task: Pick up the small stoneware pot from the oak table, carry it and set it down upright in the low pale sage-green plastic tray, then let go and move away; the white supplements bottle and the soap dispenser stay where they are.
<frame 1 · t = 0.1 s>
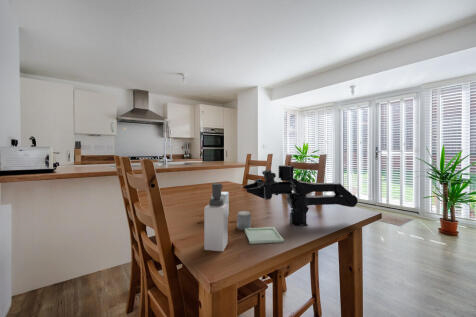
hand: (244, 188, 95), 17 cm above the table, tool horizontal, fingers open, 9 cm apart
tray: (262, 236, 84), on the table
supplement box: (220, 218, 107), on the table
pot: (244, 227, 93), on the table
soap dispenser: (217, 245, 76), on the table
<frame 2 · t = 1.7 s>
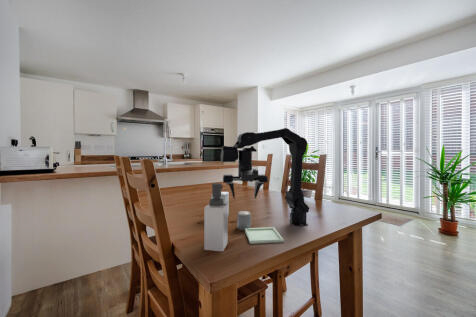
hand: (244, 198, 91), 13 cm above the table, tool pointing down, fingers open, 9 cm apart
nothing on the table moved.
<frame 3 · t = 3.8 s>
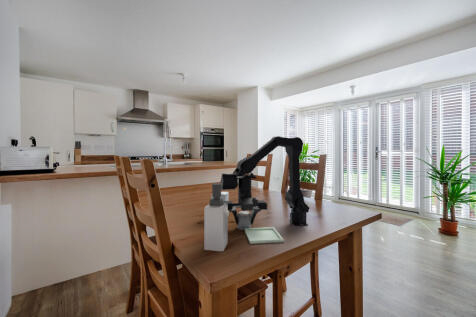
hand: (244, 225, 92), 2 cm above the table, tool pointing down, fingers closed on pot, 6 cm apart
pot: (244, 227, 93), on the table, touching gripper
everything else where it was.
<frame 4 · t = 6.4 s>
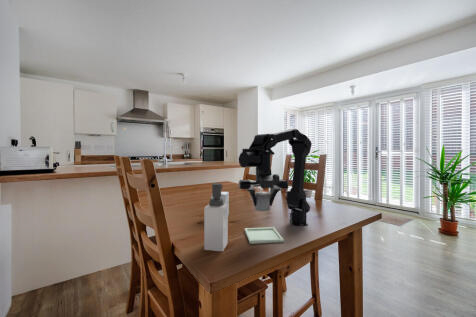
hand: (262, 206, 83), 12 cm above the table, tool pointing down, fingers closed on pot, 6 cm apart
pot: (262, 209, 84), point 10 cm above the table, touching gripper
everything else where it was.
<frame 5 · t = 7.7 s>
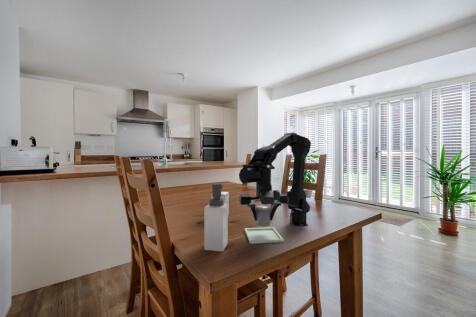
hand: (263, 220, 83), 6 cm above the table, tool pointing down, fingers closed on pot, 6 cm apart
pot: (262, 223, 84), point 5 cm above the table, touching gripper
everything else where it was.
when the fingers open (3 cm above the table, at t = 8.9 s): pot drops 1 cm, resting on tray.
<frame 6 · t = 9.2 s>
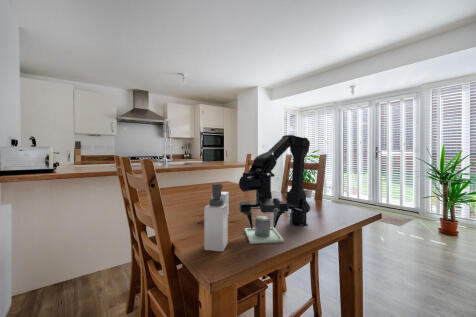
hand: (263, 228, 83), 3 cm above the table, tool pointing down, fingers open, 9 cm apart
pot: (262, 234, 85), resting on tray
everything else where it was.
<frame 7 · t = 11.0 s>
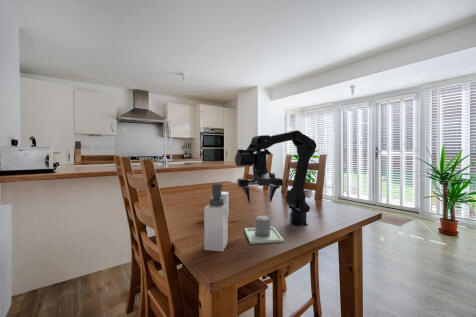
hand: (259, 202, 90), 12 cm above the table, tool pointing down, fingers open, 9 cm apart
nothing on the table moved.
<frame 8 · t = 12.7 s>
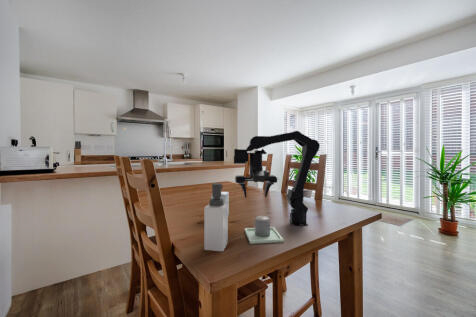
hand: (255, 197, 98), 12 cm above the table, tool pointing down, fingers open, 9 cm apart
nothing on the table moved.
at the end: pot inside the target area on the tray (1.0 cm from its centre), point 0.4 cm above the tray's base; pot tilted 0°; the gripper is holding nothing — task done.
